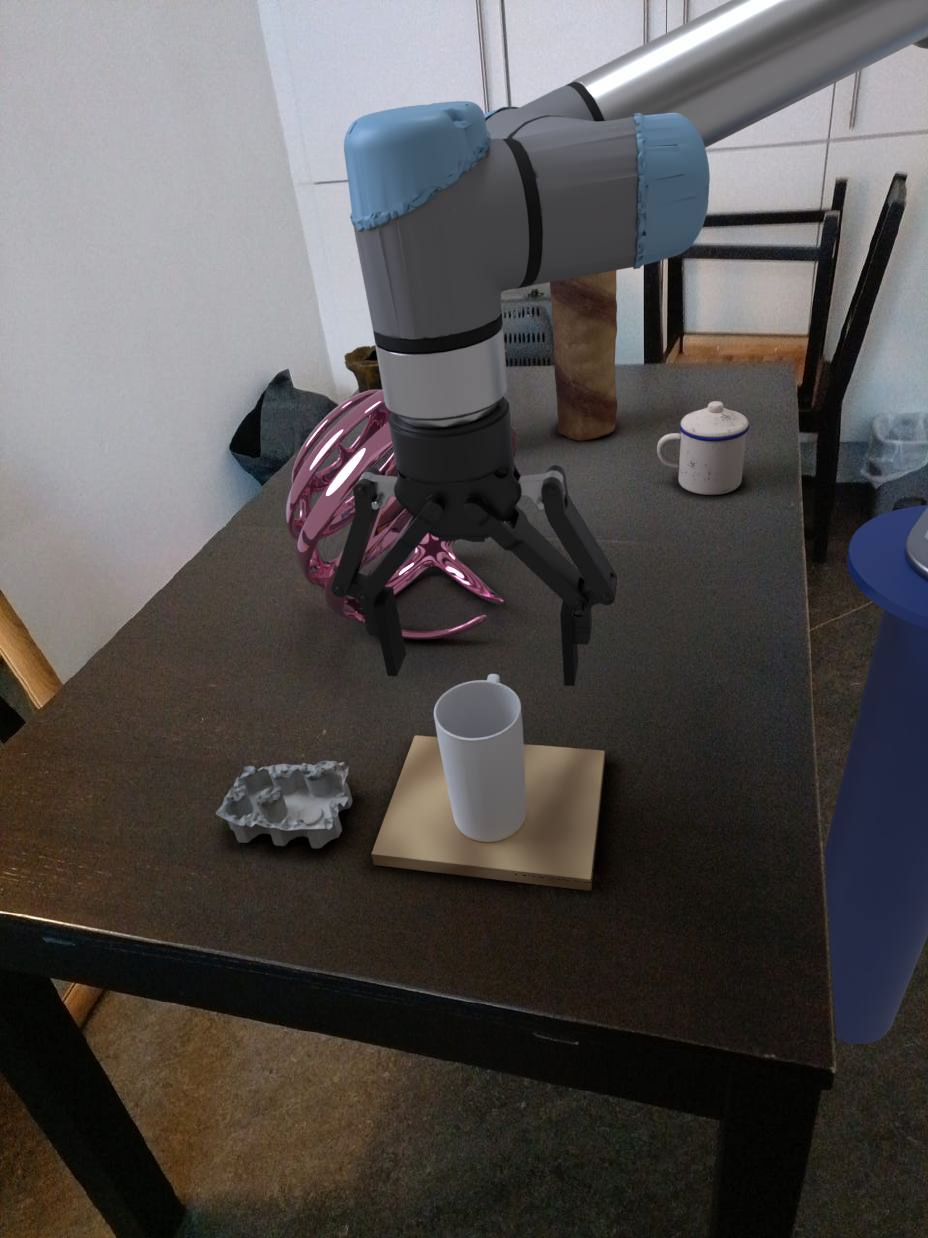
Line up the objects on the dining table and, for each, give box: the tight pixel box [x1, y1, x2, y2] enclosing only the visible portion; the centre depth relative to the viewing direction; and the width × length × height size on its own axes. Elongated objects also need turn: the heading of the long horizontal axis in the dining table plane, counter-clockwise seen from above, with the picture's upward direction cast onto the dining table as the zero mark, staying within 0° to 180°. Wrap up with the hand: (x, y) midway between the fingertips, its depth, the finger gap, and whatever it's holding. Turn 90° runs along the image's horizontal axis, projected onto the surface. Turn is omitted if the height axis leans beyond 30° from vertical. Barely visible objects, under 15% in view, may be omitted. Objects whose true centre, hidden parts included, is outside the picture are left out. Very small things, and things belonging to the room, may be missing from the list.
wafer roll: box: [549, 270, 618, 442], centre depth 123 cm, size 10×11×45 cm
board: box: [370, 734, 606, 892], centre depth 71 cm, size 18×14×2 cm
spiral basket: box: [285, 389, 519, 641], centre depth 91 cm, size 28×28×27 cm
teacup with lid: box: [656, 400, 750, 496], centre depth 113 cm, size 12×9×12 cm
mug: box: [433, 673, 526, 842], centre depth 68 cm, size 10×7×12 cm, turn 165°
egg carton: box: [215, 760, 354, 849], centre depth 73 cm, size 11×8×4 cm
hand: (482, 669), depth 63 cm, fingers open, 13 cm apart
